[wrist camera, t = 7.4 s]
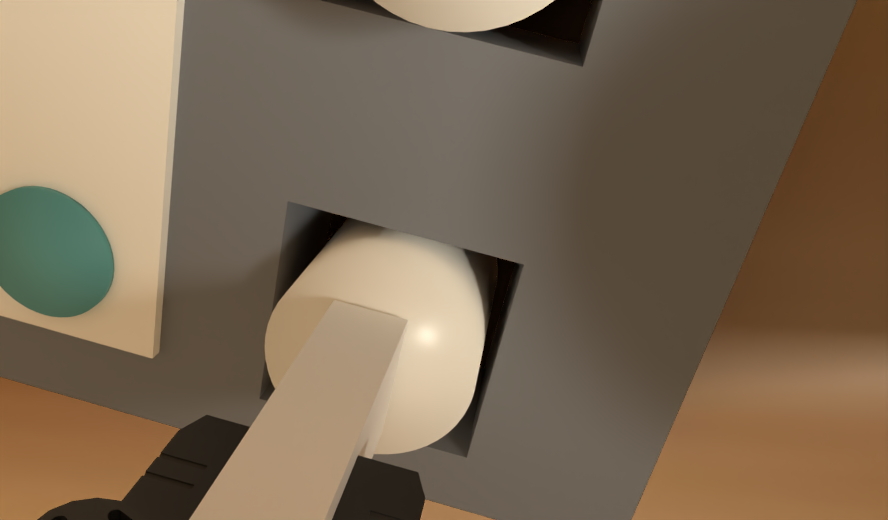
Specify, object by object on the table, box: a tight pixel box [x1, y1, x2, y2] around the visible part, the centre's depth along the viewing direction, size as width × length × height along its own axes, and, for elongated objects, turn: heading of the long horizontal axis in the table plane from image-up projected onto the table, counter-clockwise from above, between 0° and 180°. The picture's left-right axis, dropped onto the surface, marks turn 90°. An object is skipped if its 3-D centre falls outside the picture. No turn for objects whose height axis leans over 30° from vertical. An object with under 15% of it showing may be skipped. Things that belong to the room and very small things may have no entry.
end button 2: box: [265, 218, 498, 454], centre depth 17 cm, size 4×4×5 cm
